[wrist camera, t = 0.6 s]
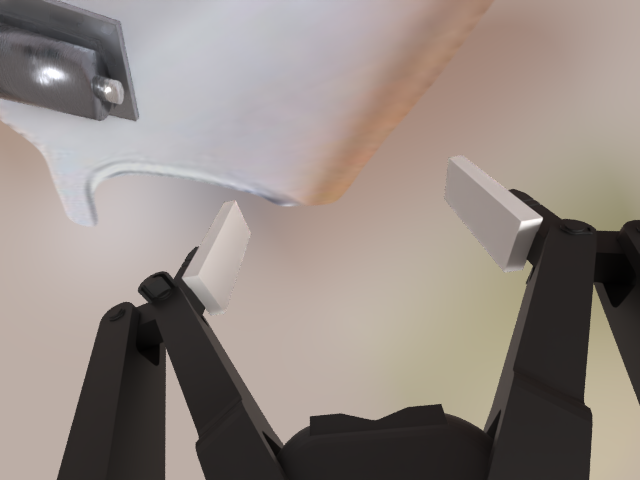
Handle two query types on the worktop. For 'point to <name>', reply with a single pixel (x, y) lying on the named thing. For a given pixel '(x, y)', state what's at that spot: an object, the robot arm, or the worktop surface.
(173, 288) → the robot arm
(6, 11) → the motor
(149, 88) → the worktop surface
